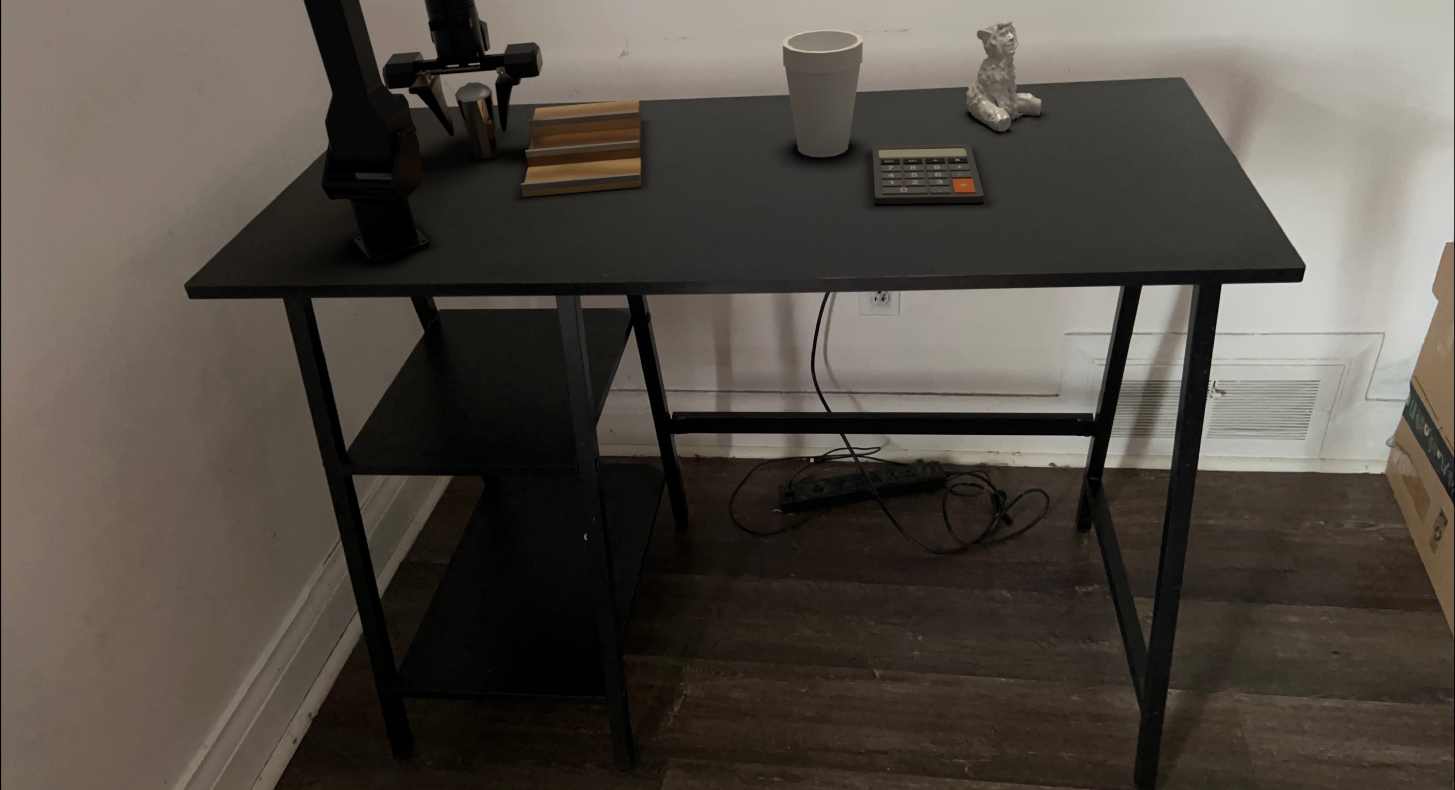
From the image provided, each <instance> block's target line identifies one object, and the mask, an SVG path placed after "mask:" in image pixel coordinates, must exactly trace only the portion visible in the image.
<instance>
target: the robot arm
mask: <svg viewBox="0 0 1455 790" xmlns="http://www.w3.org/2000/svg"><path fill="white" fill-rule="evenodd" d="M423 2H424V5H425V10H426V14H427V18H428V22H427V23H428V29H429V34H430V39H431V42H432V44H434V48H435V52H436V56H437V57H436V58H430V59H425V58H424V56H423V54H422V52H421V51H412V52H411V51H410V52H399V53H393V54H392V55H391V56H390V58H389V59H388V60H387V61H386V63H385V64H384V66H383V67H382V69H381V72H382V77H381V73H380V70H379V67H378V63H377V62H378V61H377V59H376V56H375V55H376V54H375V51H374V48H373V44H372V41H371V37H370V34H369V30H368V27H367V23H366V19H365V15H364V12H363V10H362V9H363V8H362V5H361V2H360V0H303V3H304V7H305V11H306V14H307V17H308V20H309V23H310V27H311V29H312V33H313V36H314V40H315V42H316V45H317V49H318V51H319V56H320V58H321V62H322V64H323V68H324V71H325V75H326V77H327V80H328V84H329V87H330V91H331V98H330V101H329V105H328V109H327V112H326V116H325V119H324V124H325V131H326V135H327V140H328V143H327V149H326V154H325V160H324V166H323V172H322V178H321V188H322V190H323V191H324V193H325V194H326V196H327V197H328V200H331V201H336V200H349V203H350V206H351V209H352V213H353V216H354V219H355V221H356V225H357V228H358V231H359V235H360V236H357V237H355V238H354V239H353V242H354V244H355V245H356V247H357V248H358V249H359V250H360V251H361V253H362V254H363V256H365V258H366V259H367V260H368V261H369V262H370V263H372V264H374V263H375V264H376V263H378V262H381V261H384V260H387V259H391V258H394V257H397V256H400V255H403V254H406V253H409V252H413V251H416V250H419V249H423V248H426V247H428V246H430V241H429V239H428V238H427V237H426V236H425V235H424V234H423V233H422V232H421V231H420V230H419V229H418V227H416V224H415V221H414V217H413V213H412V210H411V206H410V203H409V199H408V198H409V197H410V196H411V195H412V194H413V193H414V192H415V191H416V190H418V189H419V188H420V187H421V186H423V185H422V184H423V177H422V175H423V174H422V165H421V164H422V163H421V151H420V141H419V138H418V135H417V134H416V132H417V131H418V129H417V127H416V125H415V124H414V121H413V118H412V114H411V109H410V103H409V100H408V99H407V97H406V96H405V94H404V93H392V91H390V90H399V89H400V90H401V89H408V90H407V91H408V94H409V95H416V96H418V97H419V99H421V101H422V102H423V103H424V104H425V105H426V106H427V108H429V109H430V111H431V112H432V113H433V115H434V116H435V117H436V119H437V120H438V121H439V123H440V124H441V125H442V127H443V128H444V129H445V131H446V132H447V134H448V135H449V136H450V137H454V136H455V127H454V122H453V119H452V115H451V113H450V110H449V107H448V104H447V100H446V97H445V94H444V91H443V87H442V79H441V76H444V75H456V74H457V75H458V74H468V73H469V74H470V73H480V72H482V73H483V72H491V71H496V74H497V77H496V80H495V83H494V88H495V96H496V101H497V102H496V103H497V110H498V119H499V124H500V127H501V128H500V129H501V131H502V133H505V132H506V131H507V128H508V121H509V120H508V119H509V112H510V111H509V110H510V102H511V96H512V92H513V87H517V86H520V85H521V82H522V79H530V78H537V77H540V75H541V72H542V68H543V64H544V62H543V56H542V50H541V48H540V46H539V45H538V44H537V42H535V41H533V42H532V41H531V42H520V43H509V44H506V47H505V49H504V52H502V53H489V54H486V52H488V51H489V50H490V49H491V43H490V36H489V29H488V23H487V22H486V21H484V20H481V19H480V17H479V12H478V10H477V6H476V2H475V0H423ZM382 78H383V80H382ZM383 82H384V83H383ZM356 174H383V175H384V174H386V175H387V174H388V175H389V174H391V177H373V176H370V177H369V176H357V175H356Z"/></svg>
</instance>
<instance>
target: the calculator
mask: <svg viewBox="0 0 1455 790" xmlns="http://www.w3.org/2000/svg"><path fill="white" fill-rule="evenodd" d="M975 160H976V159H975V156H974V152H973V149H972V145H971V144H969V143H951V144H948V143H947V144H903V145H901V144H899V145H873V146H872V171H873V172H872V173H873V196H874V203H875V204H877V205H895V204H896V205H898V204H901V205H902V204H905V205H907V204H908V205H909V204H971V203H974V204H975V203H977V204H978V203H979V204H980V203H983V202H984V195H985V194H984V190H983V187H982V181H981V179H980V175H979V172H978V168H977V164H976V161H975Z"/></svg>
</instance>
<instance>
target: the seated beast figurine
mask: <svg viewBox="0 0 1455 790" xmlns="http://www.w3.org/2000/svg"><path fill="white" fill-rule="evenodd" d="M1016 30H1017V29H1016V27H1014V26H1013V21H1012V20H1008V19H1007V20H1006V19H1004V18H1002V19H1001V20H999V21H997V22H996V21H995V22H991V23H990V24H988V26H987V27H986V28H985V29H978V30H977V32H976V37H977V39H978V40H980V41H981V42H982V46H983V49H984V51H985V52H984V53H985V54H986V55H987V56H986V57H987V58H985V59H983V60H982V62H981V63H980V65H979V69H978V70H977V72H976V73H977V75H976V76H977V77H976V78H975V79H974V80H973V82H972V83H971V85H970V86H968V87H967V91H966V92H965V93H966V102H965V104H966V105H967V107H966V108H967V110H968V112H970V114H971V116H972V117H974V119H976V120H978V121H980V123H982V124H984V125H986V126H987V127H989V128H990V129H992V130H993V131H995V132H1004V133H1005V132H1006V131H1007V130H1008V129H1010V127H1011V125H1012V120H1016V119H1018V118H1019V117H1022V116H1023V115H1024V116H1036V117H1038V116H1040V114H1041V111H1042V106H1043V100H1042V99H1040V98H1037V97H1035V96H1034V95H1032V93H1030V92H1027V93H1024V92H1019V93H1017V88H1018V87H1017V85H1016V79H1017V77H1016V72H1015V70H1016V67H1015V64H1014V63H1013V62H1014V60H1015V58H1014V56H1015V54H1016V49H1017V48H1018V46H1019V41H1018V36H1017V31H1016Z"/></svg>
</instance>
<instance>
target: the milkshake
mask: <svg viewBox="0 0 1455 790" xmlns="http://www.w3.org/2000/svg"><path fill="white" fill-rule="evenodd" d="M444 83H445V85H446V86H447V87H448V88H449V90H450V92H451V93H452V94H453V96H454V97H455V101H456V103H457V106H458V109H459V112H460V115H461V118H462V121H463V125H464V128H465V132H466V135H467V138H468V141H469V145H470V149H471V151H472V154H473V157H474V158H475V159H478V160H488V159H493V158H495V157H498V155H499V154H500V146H499V137H498V130H497V122H496V115H495V109H494V97H493V91H492V90H493V89H491V87H490V86H488V85H487V84H484V83H482V82H479V81H476V82H467V83H466V84H465V85H462V86H460V87H459V88H458V89H457V90H456V91H455V92H454V91H453V90H452V88H451V86H449V84H448V83H447V82H446V81H444Z"/></svg>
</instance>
